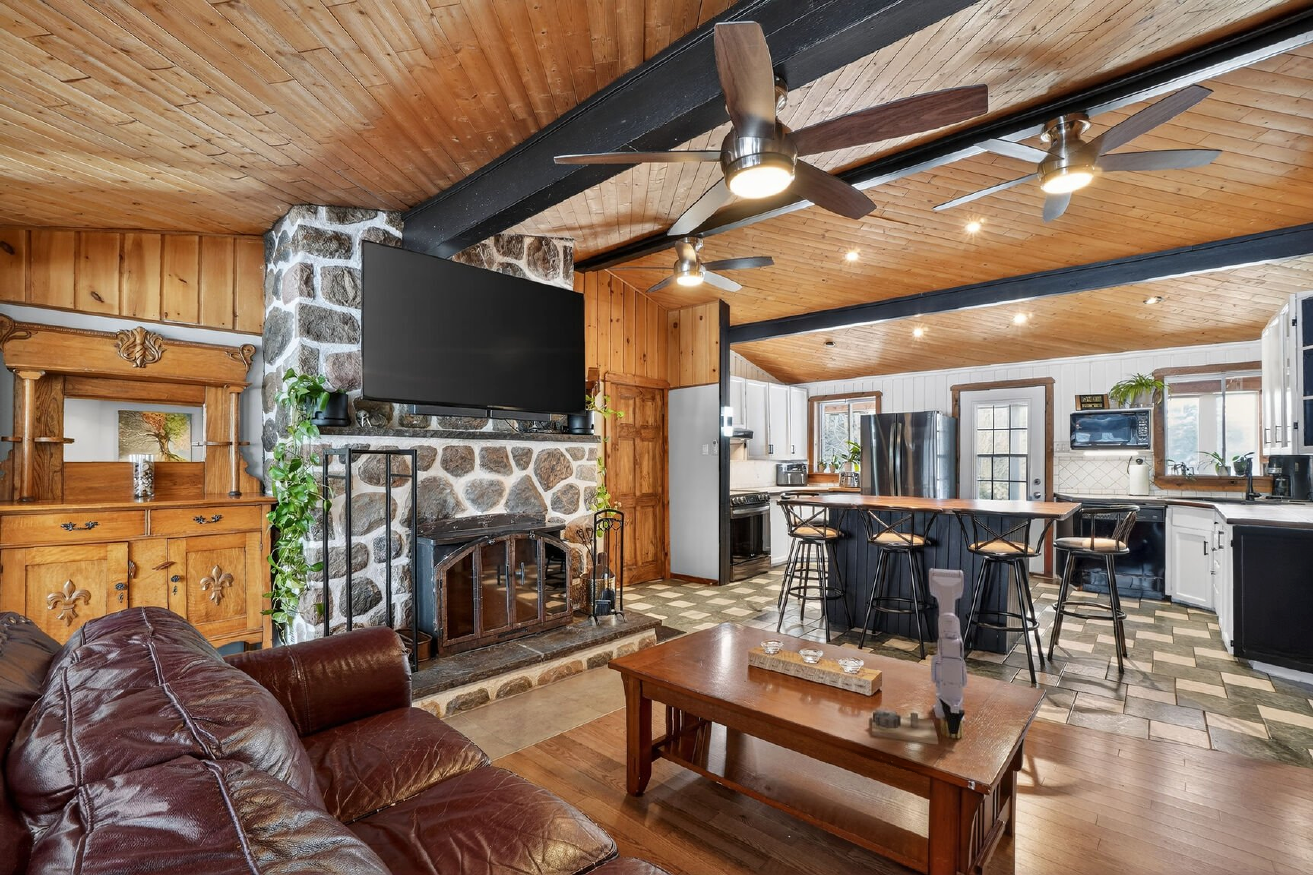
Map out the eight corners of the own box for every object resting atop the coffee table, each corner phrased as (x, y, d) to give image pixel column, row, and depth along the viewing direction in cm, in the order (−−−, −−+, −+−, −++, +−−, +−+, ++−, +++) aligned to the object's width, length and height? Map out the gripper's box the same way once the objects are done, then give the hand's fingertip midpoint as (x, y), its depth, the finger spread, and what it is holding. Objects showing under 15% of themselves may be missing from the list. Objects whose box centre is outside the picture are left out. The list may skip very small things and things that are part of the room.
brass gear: (939, 728, 177) (939, 714, 177) (961, 730, 175) (961, 716, 175) (942, 736, 171) (941, 722, 171) (964, 739, 169) (964, 725, 169)
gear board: (871, 717, 184) (871, 700, 184) (933, 725, 179) (932, 707, 179) (872, 735, 172) (872, 717, 172) (938, 744, 166) (937, 726, 166)
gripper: (932, 670, 182) (933, 716, 181) (938, 687, 168) (939, 737, 167) (959, 673, 179) (959, 719, 179) (966, 691, 166) (967, 741, 165)
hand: (951, 728), depth 173 cm, fingers closed on brass gear, 6 cm apart
